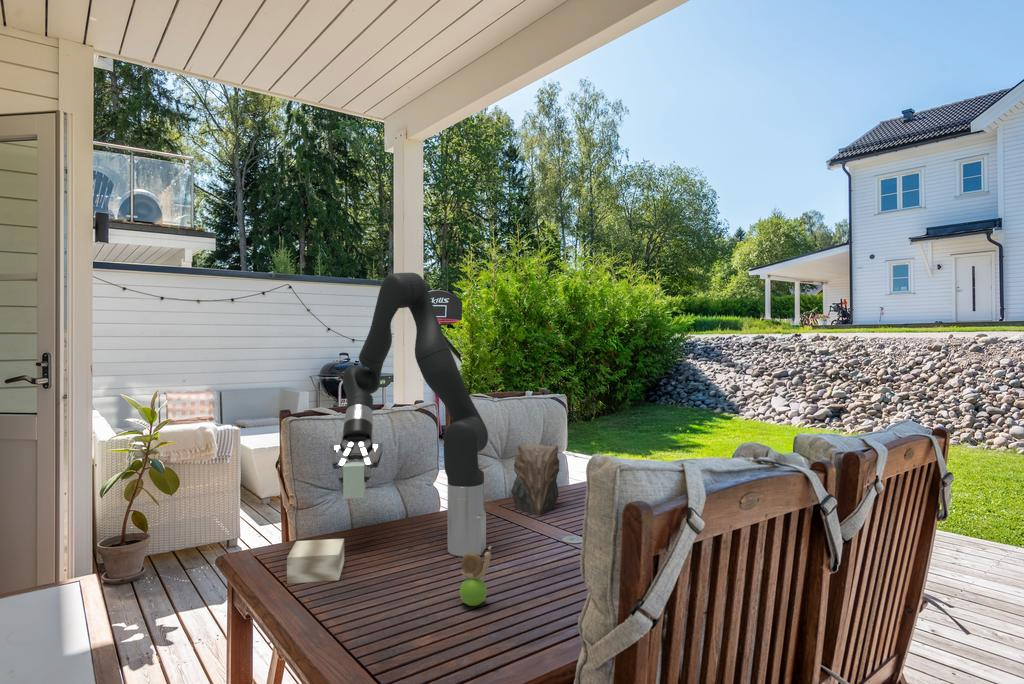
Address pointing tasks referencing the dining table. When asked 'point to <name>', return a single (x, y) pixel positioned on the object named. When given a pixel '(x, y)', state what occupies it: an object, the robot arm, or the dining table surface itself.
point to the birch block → (315, 561)
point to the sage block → (354, 480)
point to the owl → (536, 478)
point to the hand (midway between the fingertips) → (353, 480)
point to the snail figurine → (474, 578)
